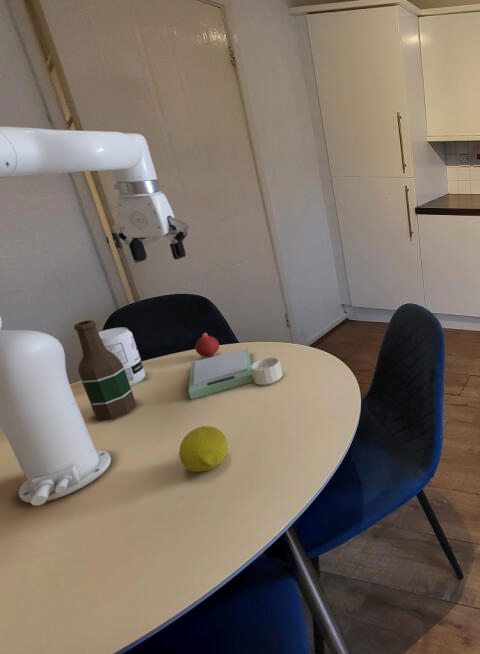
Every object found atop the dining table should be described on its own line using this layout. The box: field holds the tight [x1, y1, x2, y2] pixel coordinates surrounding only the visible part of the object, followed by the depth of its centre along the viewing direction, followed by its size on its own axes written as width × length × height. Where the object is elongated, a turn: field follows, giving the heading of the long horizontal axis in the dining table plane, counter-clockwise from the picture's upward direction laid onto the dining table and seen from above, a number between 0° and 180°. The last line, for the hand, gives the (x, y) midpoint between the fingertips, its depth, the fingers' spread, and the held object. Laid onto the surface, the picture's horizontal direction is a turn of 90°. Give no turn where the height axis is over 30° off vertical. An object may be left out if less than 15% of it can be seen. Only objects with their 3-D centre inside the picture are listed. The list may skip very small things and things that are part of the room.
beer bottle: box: [73, 319, 137, 421], centre depth 99 cm, size 8×8×24 cm
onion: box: [194, 332, 220, 358], centre depth 126 cm, size 6×6×8 cm
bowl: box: [251, 356, 283, 386], centre depth 114 cm, size 7×7×5 cm
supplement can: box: [98, 326, 146, 387], centre depth 112 cm, size 8×8×15 cm
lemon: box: [178, 425, 228, 473], centre depth 84 cm, size 11×8×8 cm
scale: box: [188, 348, 255, 400], centre depth 117 cm, size 18×14×3 cm
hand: (160, 258), depth 103 cm, fingers open, 9 cm apart
